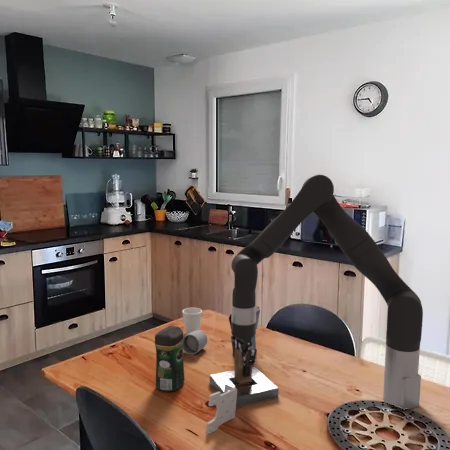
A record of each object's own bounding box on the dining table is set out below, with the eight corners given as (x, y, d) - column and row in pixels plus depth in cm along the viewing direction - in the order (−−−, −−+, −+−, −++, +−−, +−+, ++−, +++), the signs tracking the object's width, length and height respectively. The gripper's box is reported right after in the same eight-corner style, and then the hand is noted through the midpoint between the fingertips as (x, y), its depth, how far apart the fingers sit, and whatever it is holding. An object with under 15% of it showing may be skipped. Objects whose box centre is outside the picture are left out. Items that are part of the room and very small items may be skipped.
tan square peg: (251, 381, 137) (252, 350, 136) (239, 383, 135) (240, 352, 134) (246, 375, 141) (246, 345, 139) (234, 378, 139) (234, 347, 138)
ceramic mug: (208, 348, 170) (208, 328, 170) (199, 356, 163) (199, 336, 162) (184, 344, 175) (184, 325, 174) (174, 352, 167) (173, 332, 166)
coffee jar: (165, 376, 147) (165, 322, 145) (187, 380, 145) (187, 325, 142) (151, 390, 138) (150, 332, 136) (174, 394, 136) (173, 336, 133)
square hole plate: (278, 397, 134) (278, 388, 134) (229, 408, 128) (229, 398, 128) (254, 374, 149) (254, 366, 148) (209, 383, 143) (209, 374, 142)
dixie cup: (194, 339, 180) (194, 315, 178) (178, 334, 184) (177, 311, 183) (206, 332, 186) (206, 309, 185) (190, 328, 191) (190, 306, 190)
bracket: (222, 415, 126) (225, 380, 126) (234, 421, 124) (237, 385, 123) (195, 427, 118) (199, 390, 117) (208, 434, 115) (211, 396, 115)
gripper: (265, 325, 130) (264, 381, 133) (244, 311, 143) (244, 361, 146) (242, 329, 128) (241, 385, 130) (223, 314, 141) (223, 365, 143)
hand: (243, 372), depth 138 cm, fingers closed on tan square peg, 4 cm apart
